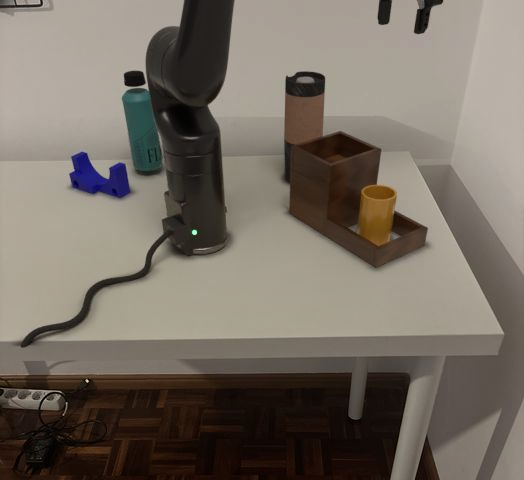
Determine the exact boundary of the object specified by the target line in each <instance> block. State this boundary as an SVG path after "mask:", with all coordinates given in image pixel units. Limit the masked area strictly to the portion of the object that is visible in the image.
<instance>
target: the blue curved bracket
mask: <svg viewBox="0 0 524 480" xmlns="http://www.w3.org/2000/svg"><path fill="white" fill-rule="evenodd" d="M70 158H71V162H72V166H73V170H74V171H71V172H69V173H68V175H69V178H70V179H69V180H70V182H71V187H72V188H73V189H76V190H80V191H81V192H82V191H83V192H86V193H89V194H91V195H94V194H97V193H98V192H100V193H103V194H106V195H109V196H111V197H112V196H113V197H115V198H118V199H121V198H123V197H125V196H127V195H128V194H130V193H131V186H130V181H129V176H128V170H127V164H126V163H124V162H121V161H119V162H117V163H116V164H114V165H112V166H110V167H108V170H109V171H108V172H109V176H108V178H106V177H104V176H103V175H101V174H100V173H99V172H98V171H97V170H96V168H95V167H94V165H93V164H92V162H91V160H90V158H89V155H88V152H85V151H80V152H78V153H76V154H73V155H71V156H70Z"/></svg>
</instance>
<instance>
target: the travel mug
mask: <svg viewBox="0 0 524 480" xmlns="http://www.w3.org/2000/svg"><path fill="white" fill-rule="evenodd" d="M284 83H285V85H284V130H283V131H284V132H283V138H284V139H283V144H284V145H283V150H284V151H283V152H284V153H283V154H284V179H285V182H286V183H288V184H289V185H290V161H291V146H292V145H296V144H299V143H302V142H306V141H309V140H312V139H315V138H319V137H322V136H324V114H325V97H326V96H325V94H326V93H325V92H326V76H325V75H324V74H322V73H320V72H316V71H308V70H307V71H303V70H302V71H297V72H295V73H294V75H292V76H288V75H286V76H285V82H284Z"/></svg>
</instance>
